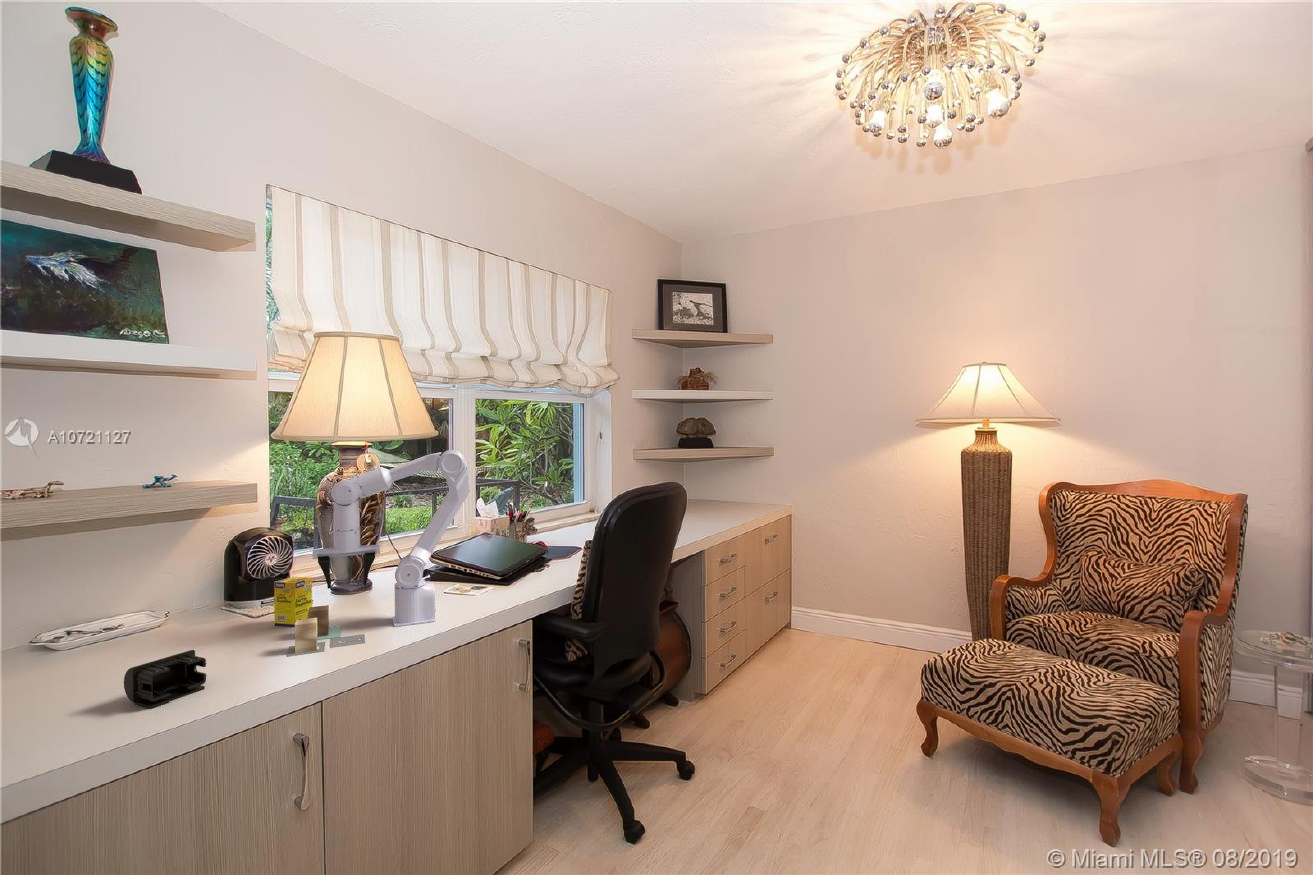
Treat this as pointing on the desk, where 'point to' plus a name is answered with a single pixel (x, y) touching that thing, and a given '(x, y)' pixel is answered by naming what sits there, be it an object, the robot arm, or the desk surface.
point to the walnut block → (320, 619)
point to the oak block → (306, 635)
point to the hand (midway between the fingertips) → (347, 585)
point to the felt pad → (332, 633)
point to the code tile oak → (319, 649)
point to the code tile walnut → (347, 640)
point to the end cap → (164, 680)
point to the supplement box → (292, 600)
